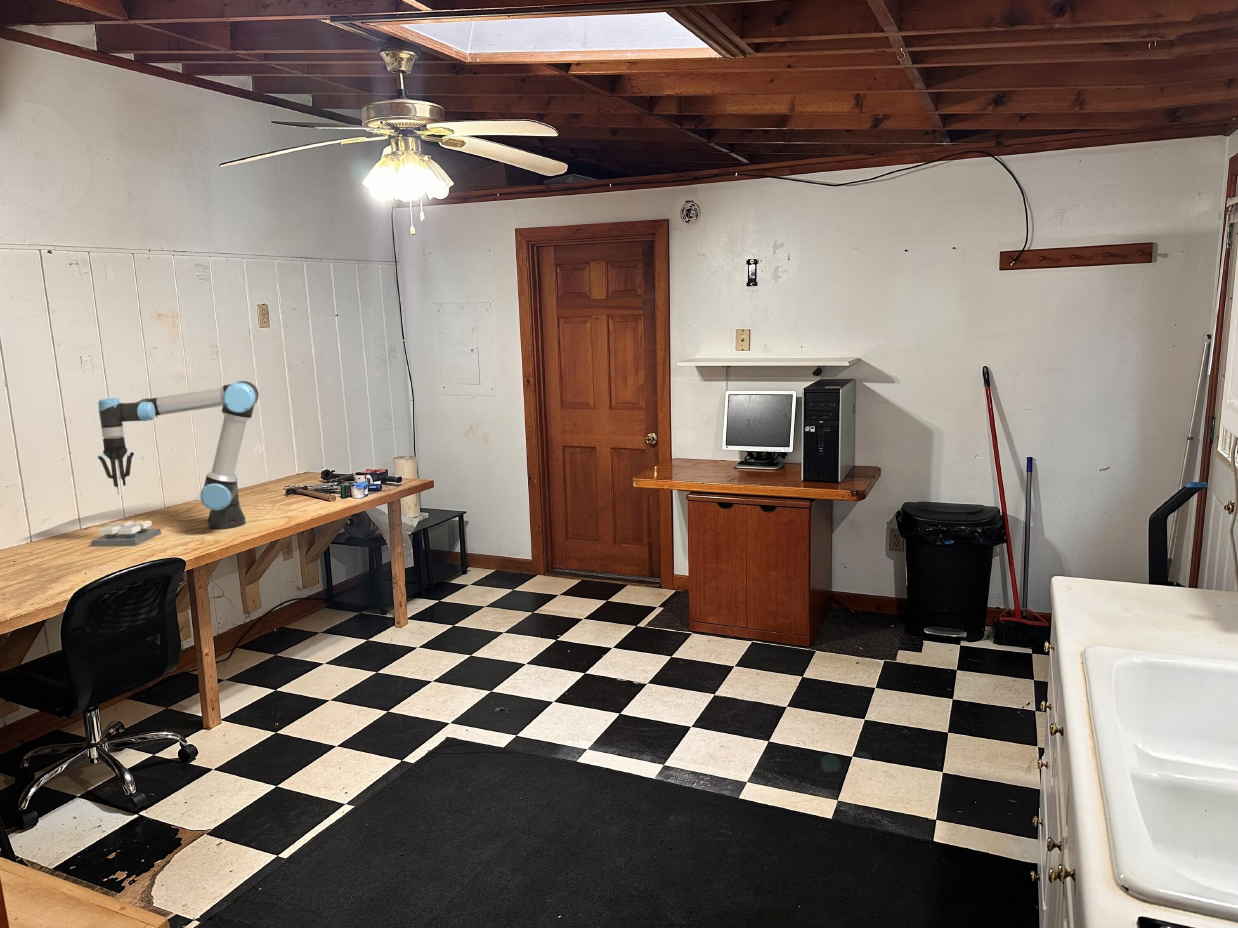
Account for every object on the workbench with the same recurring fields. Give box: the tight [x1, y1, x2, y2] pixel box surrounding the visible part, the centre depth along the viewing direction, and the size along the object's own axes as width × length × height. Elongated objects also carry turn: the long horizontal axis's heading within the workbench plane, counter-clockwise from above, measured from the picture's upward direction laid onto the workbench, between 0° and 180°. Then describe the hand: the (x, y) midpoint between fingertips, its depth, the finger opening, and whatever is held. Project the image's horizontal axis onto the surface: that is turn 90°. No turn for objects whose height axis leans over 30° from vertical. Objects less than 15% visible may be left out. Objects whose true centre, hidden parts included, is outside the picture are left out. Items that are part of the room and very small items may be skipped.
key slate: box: [118, 526, 141, 538], centre depth 349 cm, size 6×6×4 cm
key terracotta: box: [110, 520, 134, 528], centre depth 358 cm, size 6×6×4 cm
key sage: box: [97, 525, 121, 538], centre depth 350 cm, size 6×6×4 cm
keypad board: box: [90, 528, 162, 547], centre depth 354 cm, size 18×18×2 cm
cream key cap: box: [130, 520, 153, 533], centre depth 357 cm, size 6×6×4 cm
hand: (121, 494), depth 351 cm, fingers closed
